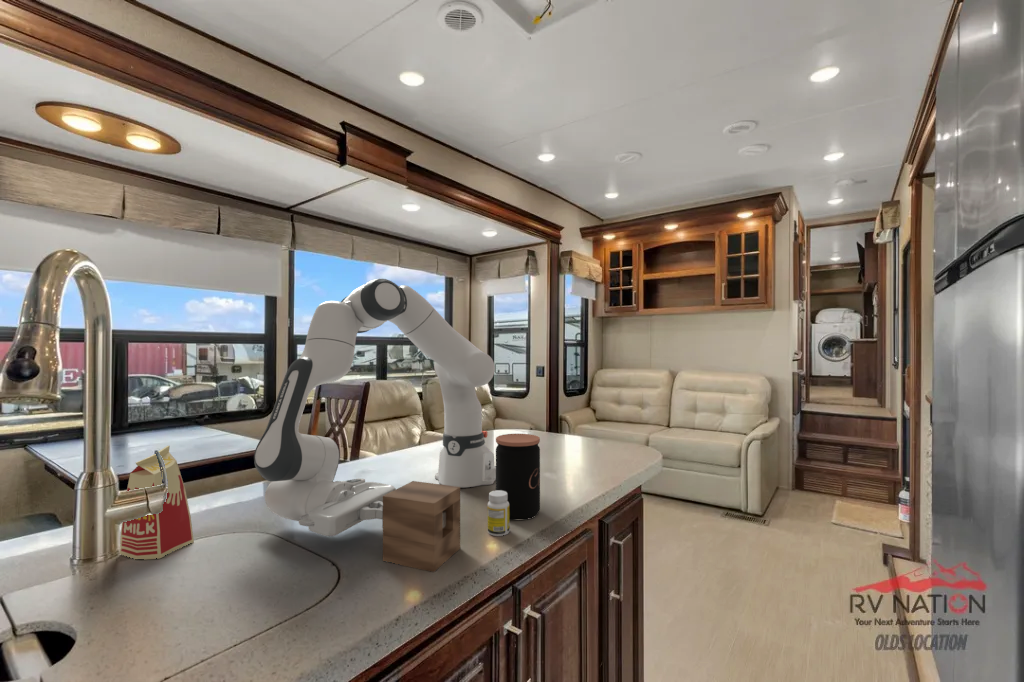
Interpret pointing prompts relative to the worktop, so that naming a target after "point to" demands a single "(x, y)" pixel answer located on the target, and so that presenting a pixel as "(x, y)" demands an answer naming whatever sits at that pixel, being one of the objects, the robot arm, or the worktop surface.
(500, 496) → the supplement bottle
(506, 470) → the coffee jar
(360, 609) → the worktop surface
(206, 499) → the worktop surface
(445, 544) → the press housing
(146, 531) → the milk carton
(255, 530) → the worktop surface
